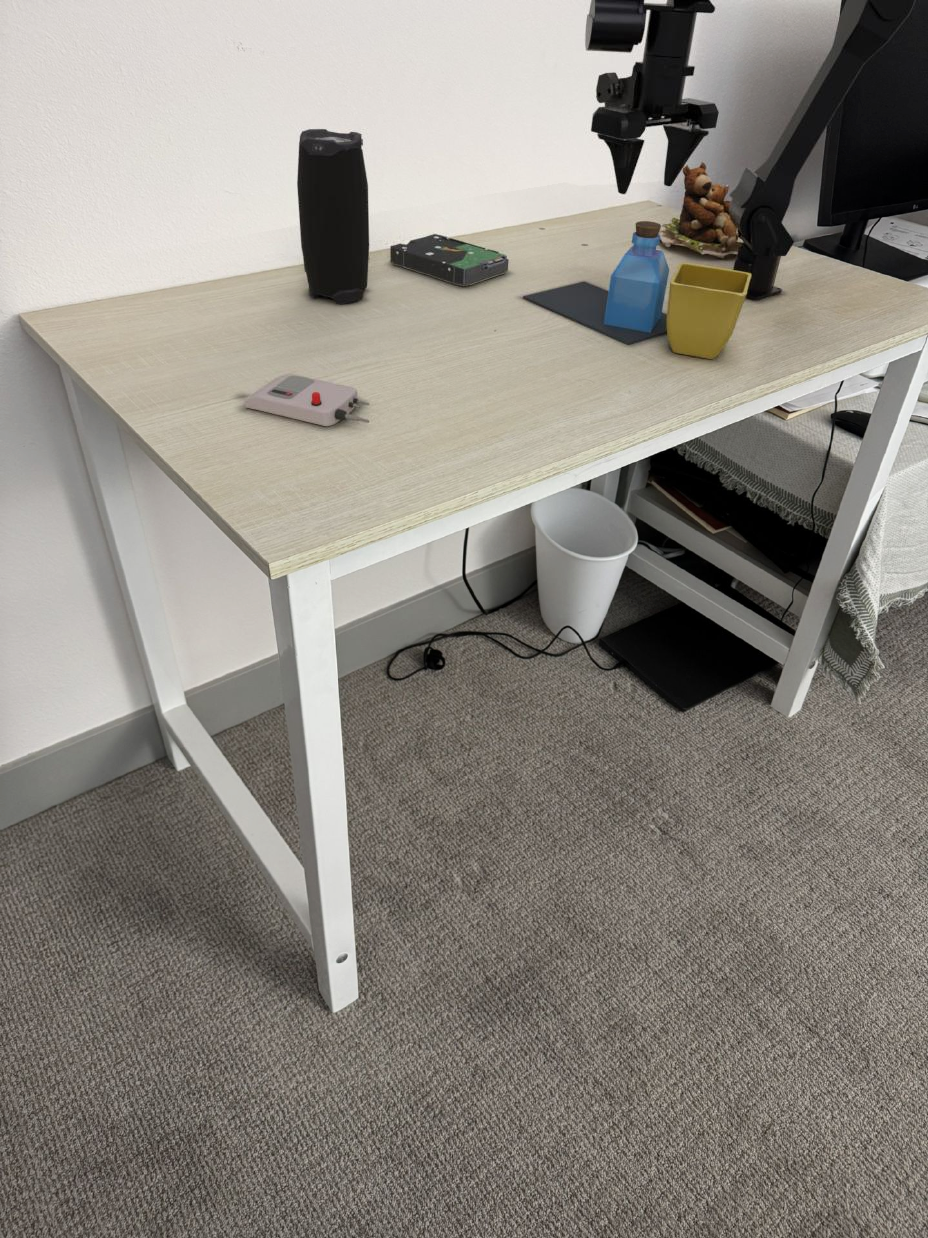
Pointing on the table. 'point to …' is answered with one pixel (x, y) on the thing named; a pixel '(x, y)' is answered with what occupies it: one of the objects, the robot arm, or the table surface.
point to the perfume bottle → (638, 282)
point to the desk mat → (591, 310)
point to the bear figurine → (703, 217)
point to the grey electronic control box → (306, 400)
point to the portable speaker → (333, 214)
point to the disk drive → (449, 259)
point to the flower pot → (704, 308)
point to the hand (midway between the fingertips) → (645, 189)
